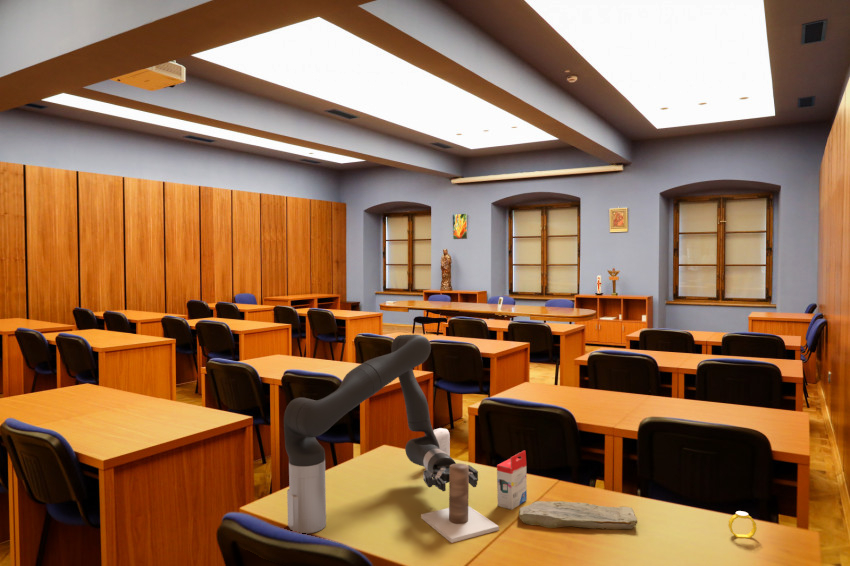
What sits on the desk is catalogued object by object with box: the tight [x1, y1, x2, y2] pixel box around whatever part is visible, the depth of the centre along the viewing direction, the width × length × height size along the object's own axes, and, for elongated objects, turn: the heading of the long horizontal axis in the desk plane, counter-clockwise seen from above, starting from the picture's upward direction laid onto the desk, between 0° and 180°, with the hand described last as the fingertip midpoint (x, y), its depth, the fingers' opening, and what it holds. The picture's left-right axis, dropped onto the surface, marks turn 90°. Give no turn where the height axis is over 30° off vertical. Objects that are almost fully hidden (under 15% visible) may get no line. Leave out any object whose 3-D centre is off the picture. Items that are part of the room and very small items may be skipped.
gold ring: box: [727, 510, 757, 539], centre depth 140 cm, size 6×3×6 cm, turn 82°
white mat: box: [420, 505, 500, 544], centre depth 149 cm, size 14×16×1 cm
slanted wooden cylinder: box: [448, 462, 470, 524], centre depth 149 cm, size 5×5×14 cm
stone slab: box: [518, 500, 638, 530], centre depth 151 cm, size 12×4×30 cm
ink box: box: [496, 450, 528, 510], centre depth 162 cm, size 8×5×15 cm, turn 141°
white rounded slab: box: [433, 427, 451, 457], centre depth 194 cm, size 10×4×12 cm, turn 143°
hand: (459, 485), depth 148 cm, fingers open, 8 cm apart
